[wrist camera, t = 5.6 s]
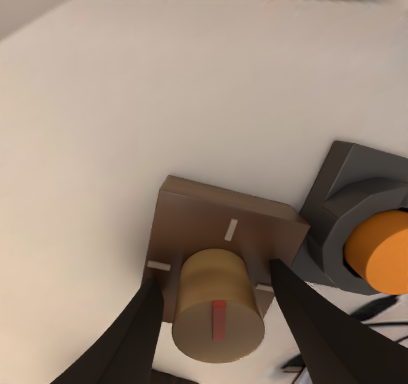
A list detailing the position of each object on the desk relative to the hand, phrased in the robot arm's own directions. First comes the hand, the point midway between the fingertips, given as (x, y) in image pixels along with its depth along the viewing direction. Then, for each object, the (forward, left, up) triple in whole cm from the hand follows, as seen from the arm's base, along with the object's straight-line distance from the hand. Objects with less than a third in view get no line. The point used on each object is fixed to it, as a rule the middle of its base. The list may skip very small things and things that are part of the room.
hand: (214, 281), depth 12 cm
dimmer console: (0, 0, -3) cm, 3 cm away
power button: (+5, -9, 0) cm, 10 cm away
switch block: (+5, -9, -3) cm, 11 cm away
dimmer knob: (0, 0, 0) cm, 0 cm away
